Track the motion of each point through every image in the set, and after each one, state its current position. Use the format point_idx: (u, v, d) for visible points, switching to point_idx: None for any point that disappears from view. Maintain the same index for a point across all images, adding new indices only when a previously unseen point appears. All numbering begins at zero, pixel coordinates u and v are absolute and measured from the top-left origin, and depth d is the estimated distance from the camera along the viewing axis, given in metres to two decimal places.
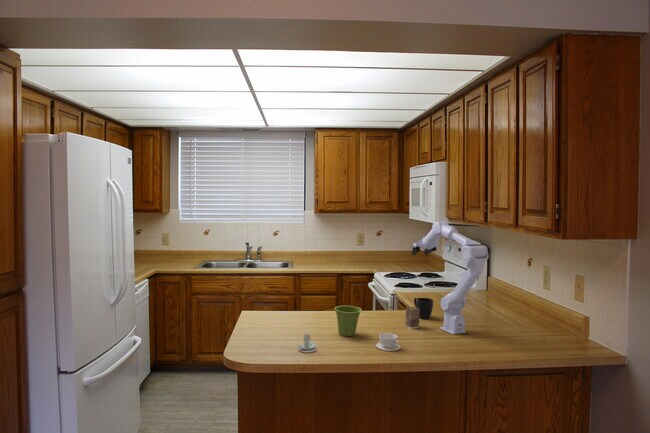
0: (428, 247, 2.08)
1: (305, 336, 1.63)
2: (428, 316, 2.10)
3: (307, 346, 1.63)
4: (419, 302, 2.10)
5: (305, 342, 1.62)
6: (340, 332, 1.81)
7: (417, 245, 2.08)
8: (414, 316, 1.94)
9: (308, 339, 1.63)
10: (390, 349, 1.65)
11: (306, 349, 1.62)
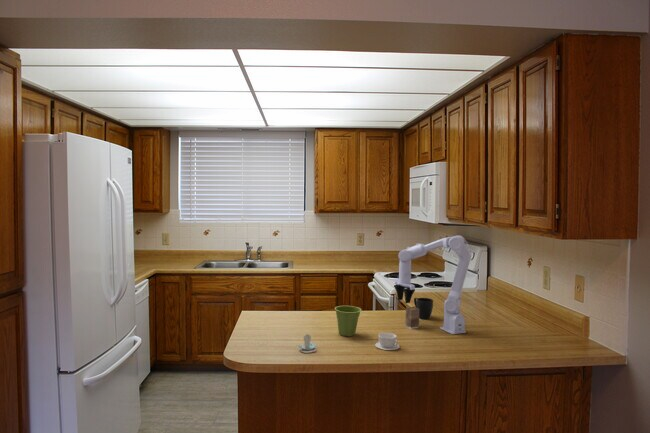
0: None
1: (305, 336, 1.62)
2: (428, 316, 2.10)
3: (307, 346, 1.62)
4: (419, 302, 2.10)
5: (305, 342, 1.62)
6: (340, 332, 1.81)
7: None
8: (414, 316, 1.94)
9: (308, 339, 1.63)
10: (389, 348, 1.66)
11: None
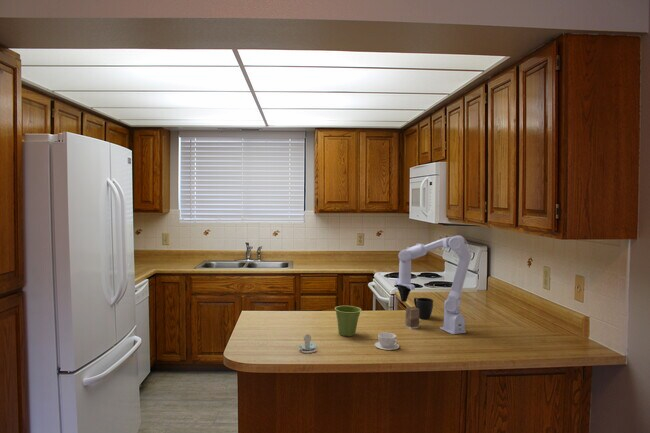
0: None
1: (305, 336, 1.62)
2: (428, 316, 2.10)
3: (307, 346, 1.62)
4: (419, 302, 2.10)
5: (305, 342, 1.62)
6: (340, 332, 1.81)
7: None
8: (414, 316, 1.94)
9: (308, 339, 1.62)
10: (389, 348, 1.66)
11: None
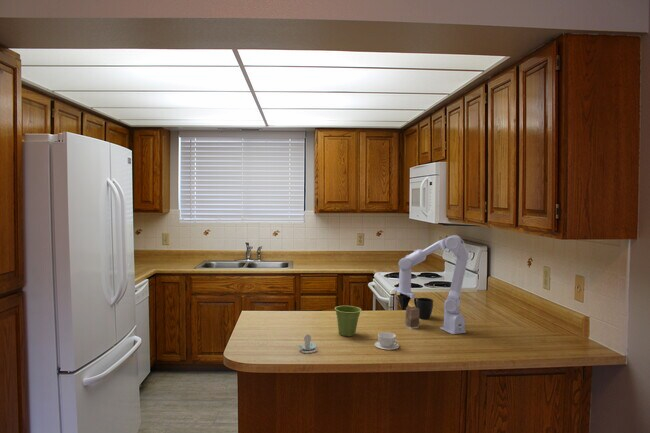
0: None
1: (306, 336, 1.62)
2: (428, 316, 2.10)
3: (308, 347, 1.62)
4: (419, 302, 2.10)
5: (306, 342, 1.62)
6: (340, 332, 1.81)
7: None
8: (414, 316, 1.94)
9: (309, 339, 1.62)
10: (388, 348, 1.66)
11: None
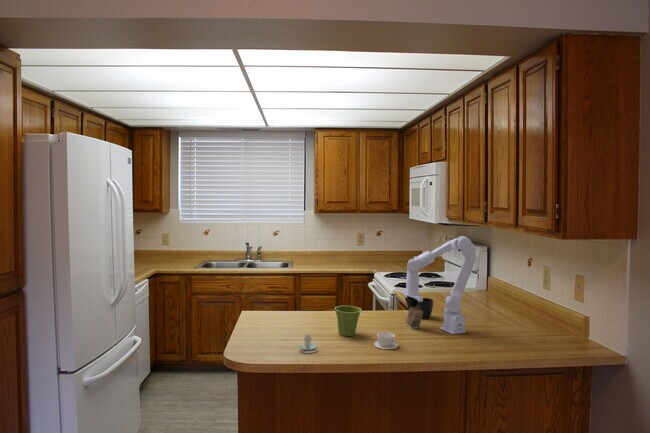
0: None
1: (306, 337, 1.62)
2: (428, 316, 2.10)
3: (308, 347, 1.62)
4: (419, 302, 2.10)
5: (306, 343, 1.62)
6: (340, 332, 1.81)
7: None
8: (417, 318, 1.92)
9: (309, 340, 1.62)
10: (387, 348, 1.67)
11: (307, 350, 1.61)
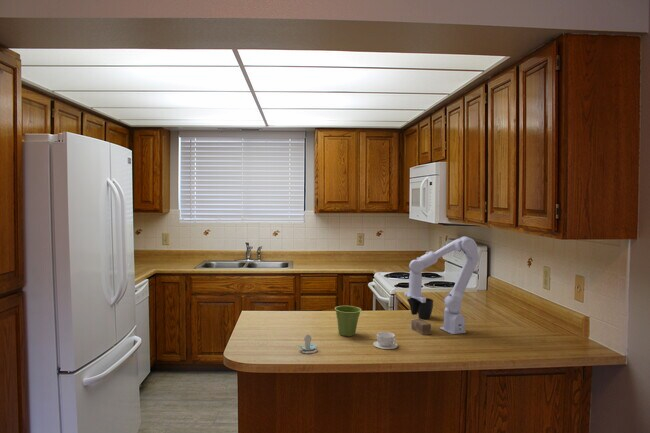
0: None
1: (306, 337, 1.62)
2: (428, 316, 2.10)
3: (308, 347, 1.62)
4: None
5: (306, 343, 1.62)
6: (340, 332, 1.81)
7: None
8: None
9: (309, 340, 1.62)
10: (387, 347, 1.67)
11: (307, 350, 1.61)
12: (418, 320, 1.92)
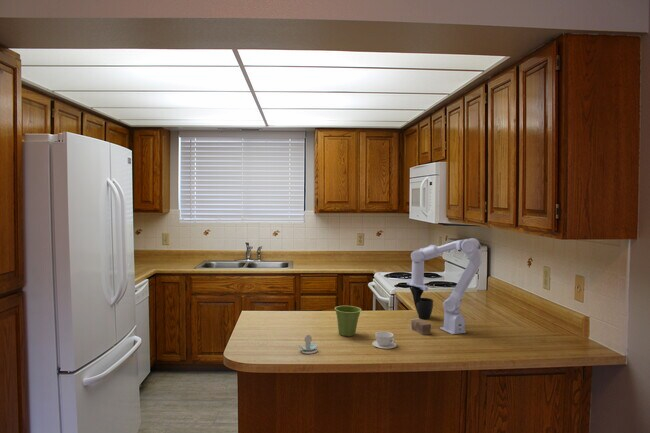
0: None
1: (306, 337, 1.61)
2: (428, 316, 2.10)
3: (308, 347, 1.62)
4: (419, 302, 2.10)
5: (306, 343, 1.61)
6: (340, 332, 1.81)
7: (427, 286, 1.96)
8: None
9: (309, 340, 1.62)
10: (386, 347, 1.67)
11: (307, 350, 1.60)
12: (418, 320, 1.92)
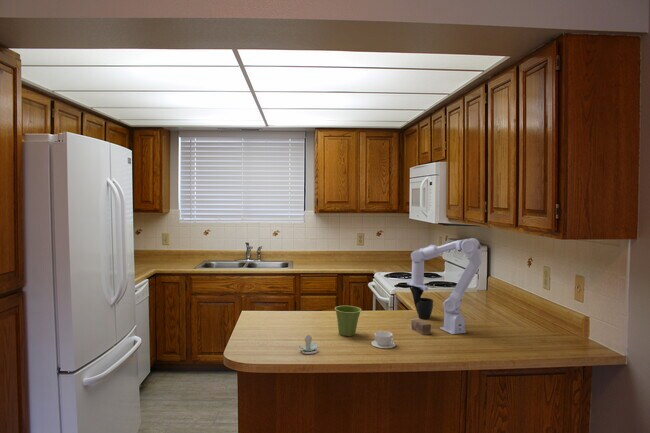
0: None
1: (306, 337, 1.61)
2: (428, 316, 2.10)
3: (308, 347, 1.61)
4: (419, 302, 2.10)
5: (306, 343, 1.61)
6: (340, 332, 1.81)
7: (427, 286, 1.96)
8: None
9: (309, 340, 1.61)
10: (385, 347, 1.68)
11: None
12: (418, 320, 1.92)
